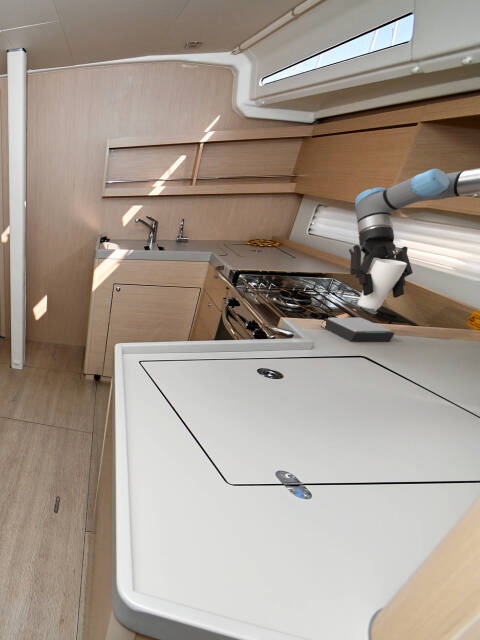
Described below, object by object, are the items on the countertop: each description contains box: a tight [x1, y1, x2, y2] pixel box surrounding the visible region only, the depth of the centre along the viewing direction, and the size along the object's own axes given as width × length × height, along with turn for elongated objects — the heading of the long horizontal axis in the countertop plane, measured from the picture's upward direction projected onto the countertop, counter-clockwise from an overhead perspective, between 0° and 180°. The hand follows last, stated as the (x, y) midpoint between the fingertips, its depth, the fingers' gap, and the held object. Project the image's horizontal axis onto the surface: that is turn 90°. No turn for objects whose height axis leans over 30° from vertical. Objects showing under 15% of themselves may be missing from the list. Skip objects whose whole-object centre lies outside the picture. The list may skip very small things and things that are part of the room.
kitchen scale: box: [323, 317, 395, 343], centre depth 120 cm, size 12×12×4 cm
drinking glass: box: [356, 258, 407, 310], centre depth 113 cm, size 7×7×15 cm
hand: (383, 294), depth 111 cm, fingers closed on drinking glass, 7 cm apart
